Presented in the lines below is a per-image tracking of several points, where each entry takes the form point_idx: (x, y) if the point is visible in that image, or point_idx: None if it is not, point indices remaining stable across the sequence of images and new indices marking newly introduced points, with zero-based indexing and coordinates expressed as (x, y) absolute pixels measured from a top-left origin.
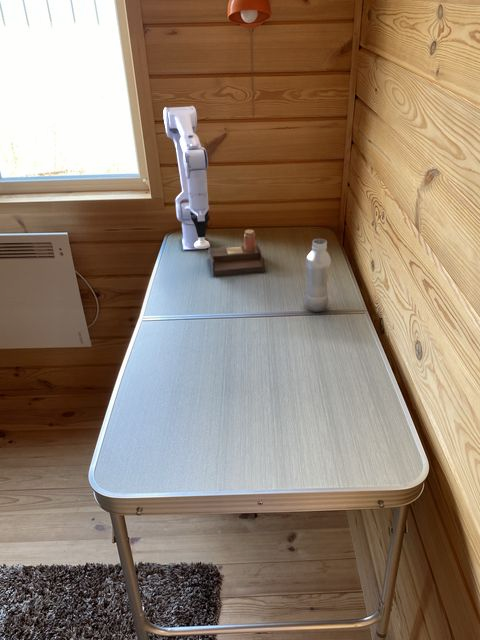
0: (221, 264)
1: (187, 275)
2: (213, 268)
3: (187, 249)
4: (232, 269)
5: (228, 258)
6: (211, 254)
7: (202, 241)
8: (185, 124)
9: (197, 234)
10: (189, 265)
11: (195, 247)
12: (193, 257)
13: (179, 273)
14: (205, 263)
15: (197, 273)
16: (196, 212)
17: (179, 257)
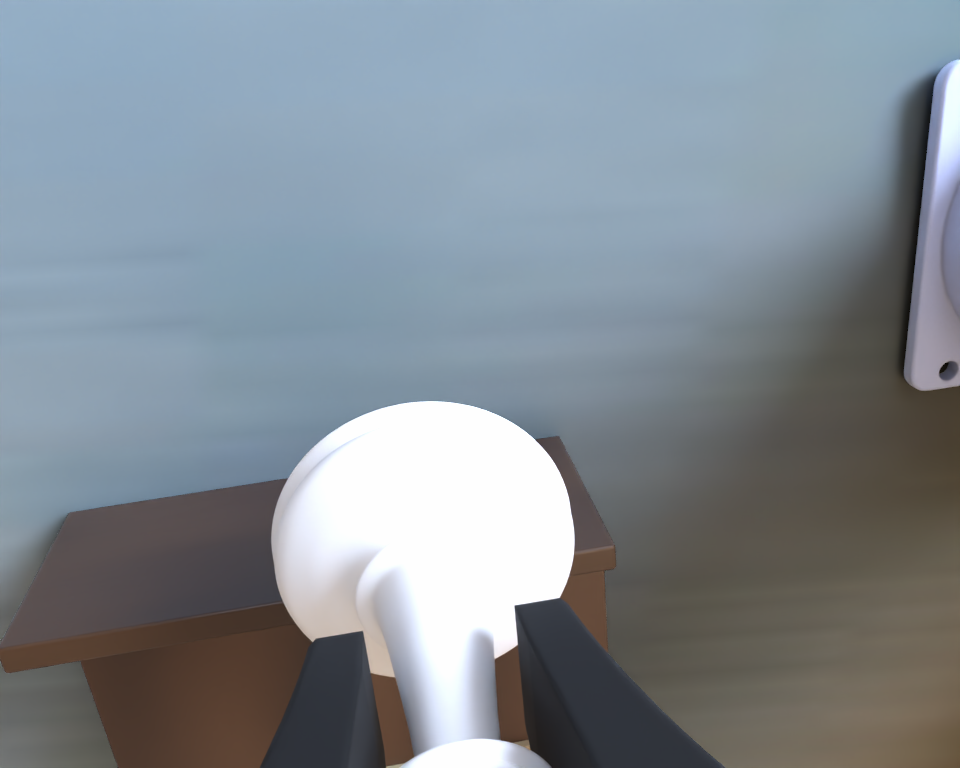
0: (248, 643)
1: (77, 168)
2: (36, 589)
3: (934, 125)
4: (119, 760)
5: None
6: (284, 615)
7: (375, 621)
8: None
9: (298, 686)
10: (422, 179)
11: (330, 433)
12: (681, 222)
13: (141, 34)
14: (469, 393)
15: (154, 309)
16: None
17: (720, 4)
